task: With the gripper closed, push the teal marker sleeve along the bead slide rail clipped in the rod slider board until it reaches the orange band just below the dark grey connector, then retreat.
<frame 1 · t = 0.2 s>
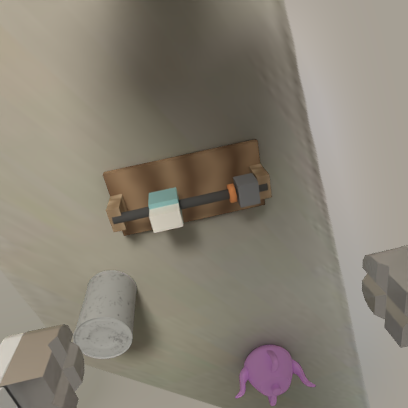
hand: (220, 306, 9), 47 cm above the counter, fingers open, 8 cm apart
sleeve: (166, 211, 53), point 7 cm above the counter, slide at 0.0 cm
bead slide rail: (190, 202, 54), point 6 cm above the counter
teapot: (264, 357, 81), on the counter
grey upright cylinder: (112, 289, 67), on the counter
rod slider board: (187, 187, 59), on the counter
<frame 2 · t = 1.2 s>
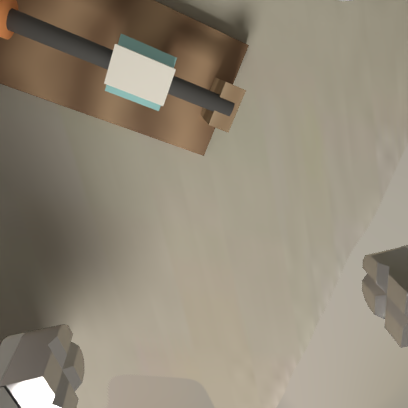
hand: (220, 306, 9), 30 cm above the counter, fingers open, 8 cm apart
sleeve: (141, 73, 28), point 7 cm above the counter, slide at 0.0 cm
bead slide rail: (93, 53, 28), point 6 cm above the counter
rod slider board: (102, 52, 33), on the counter
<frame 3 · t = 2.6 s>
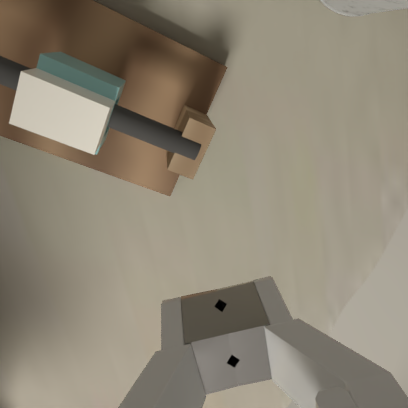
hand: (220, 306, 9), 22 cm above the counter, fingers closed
sleeve: (74, 105, 21), point 7 cm above the counter, slide at 0.0 cm
bead slide rail: (13, 75, 21), point 6 cm above the counter
rod slider board: (42, 68, 26), on the counter
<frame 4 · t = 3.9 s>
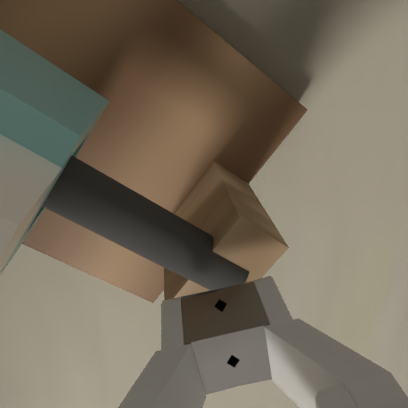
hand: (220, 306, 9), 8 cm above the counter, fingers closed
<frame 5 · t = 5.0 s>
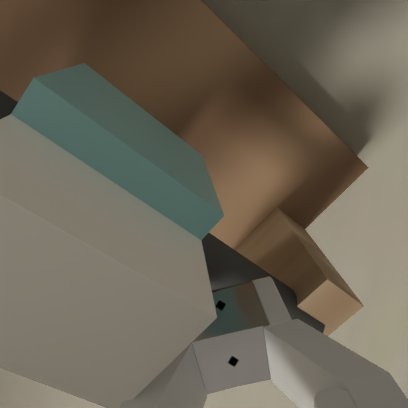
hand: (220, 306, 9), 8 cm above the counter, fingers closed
sleeve: (88, 211, 8), point 7 cm above the counter, slide at 0.3 cm, touching gripper
rod slider board: (41, 78, 13), on the counter
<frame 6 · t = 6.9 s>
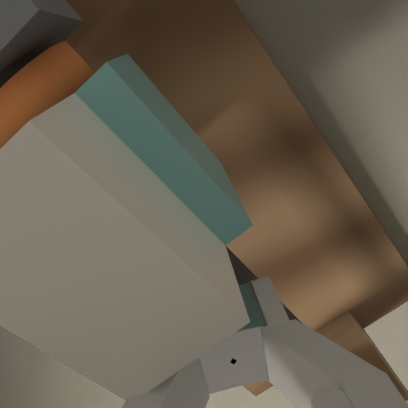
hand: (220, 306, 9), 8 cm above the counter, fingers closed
sleeve: (116, 200, 8), point 7 cm above the counter, slide at 8.1 cm, touching bead slide rail, gripper
bead slide rail: (213, 268, 11), point 6 cm above the counter
rod slider board: (195, 193, 16), on the counter
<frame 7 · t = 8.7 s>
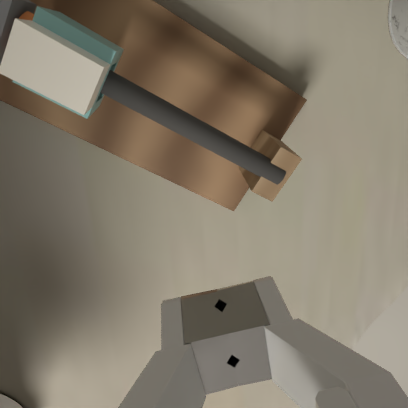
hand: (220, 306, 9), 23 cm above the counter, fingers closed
sleeve: (68, 65, 20), point 7 cm above the counter, slide at 8.0 cm
bead slide rail: (132, 95, 23), point 6 cm above the counter
rod slider board: (138, 85, 28), on the counter
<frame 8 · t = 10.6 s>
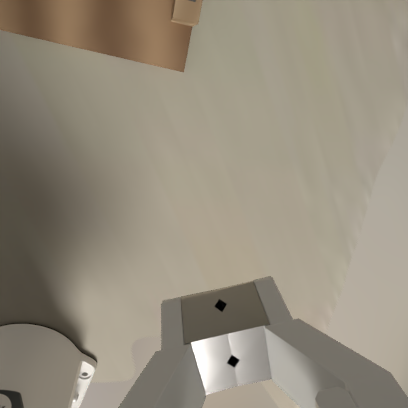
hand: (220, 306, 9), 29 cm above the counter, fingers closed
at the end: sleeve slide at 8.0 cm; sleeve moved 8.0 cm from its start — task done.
